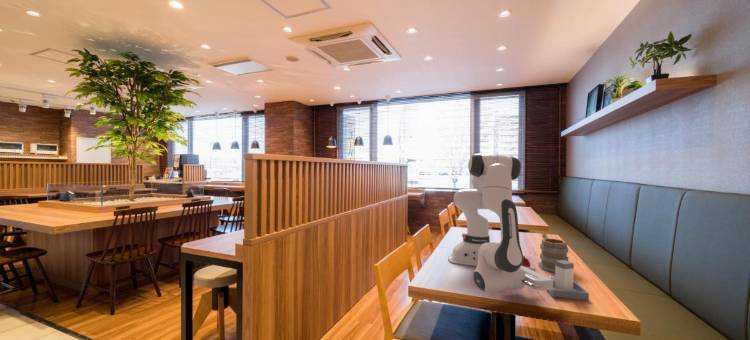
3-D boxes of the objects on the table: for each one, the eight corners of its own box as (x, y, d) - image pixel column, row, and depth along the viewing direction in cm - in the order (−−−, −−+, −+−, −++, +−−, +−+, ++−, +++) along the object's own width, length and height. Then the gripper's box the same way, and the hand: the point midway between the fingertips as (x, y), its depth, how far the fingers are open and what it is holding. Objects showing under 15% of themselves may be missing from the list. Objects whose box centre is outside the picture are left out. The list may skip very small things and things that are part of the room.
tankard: (573, 274, 145) (573, 242, 145) (544, 272, 148) (544, 241, 147) (557, 260, 165) (557, 233, 164) (531, 259, 167) (532, 232, 167)
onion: (532, 273, 146) (533, 256, 146) (523, 274, 144) (523, 257, 144) (523, 269, 151) (524, 253, 151) (514, 270, 150) (514, 254, 150)
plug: (564, 294, 121) (564, 264, 121) (554, 289, 126) (555, 260, 126) (573, 292, 123) (573, 263, 122) (563, 288, 127) (564, 259, 127)
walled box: (552, 297, 119) (552, 290, 119) (542, 285, 132) (542, 278, 132) (588, 300, 117) (588, 293, 117) (574, 287, 129) (574, 280, 129)
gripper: (534, 278, 108) (566, 275, 111) (497, 261, 127) (525, 258, 131) (534, 296, 108) (565, 292, 111) (497, 275, 128) (525, 273, 131)
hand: (543, 273), depth 121 cm, fingers open, 8 cm apart
